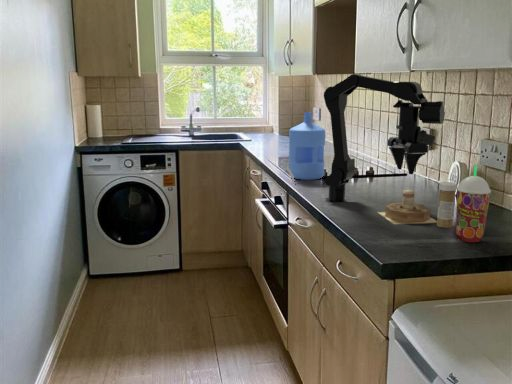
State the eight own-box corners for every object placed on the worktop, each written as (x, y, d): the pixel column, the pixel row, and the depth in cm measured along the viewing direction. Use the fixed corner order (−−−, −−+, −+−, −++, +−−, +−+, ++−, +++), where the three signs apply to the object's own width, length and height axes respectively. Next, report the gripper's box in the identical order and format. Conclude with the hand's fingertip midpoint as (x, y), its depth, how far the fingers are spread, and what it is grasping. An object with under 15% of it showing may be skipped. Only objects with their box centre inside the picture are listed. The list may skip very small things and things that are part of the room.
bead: (381, 212, 161) (381, 203, 160) (418, 211, 162) (418, 202, 161) (395, 223, 149) (396, 213, 148) (435, 221, 150) (435, 212, 149)
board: (376, 214, 162) (377, 211, 161) (419, 213, 163) (419, 210, 163) (393, 227, 148) (393, 224, 148) (439, 226, 149) (439, 222, 149)
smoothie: (452, 242, 135) (458, 167, 130) (452, 233, 142) (458, 162, 138) (486, 245, 132) (494, 169, 128) (485, 236, 139) (492, 164, 135)
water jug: (281, 175, 228) (282, 112, 222) (311, 172, 235) (313, 111, 229) (300, 181, 214) (301, 114, 208) (331, 178, 221) (333, 113, 215)
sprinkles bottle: (440, 225, 150) (443, 180, 147) (455, 228, 147) (459, 182, 144) (433, 229, 146) (436, 183, 144) (448, 232, 143) (452, 185, 141)
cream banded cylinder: (399, 215, 157) (401, 190, 155) (410, 215, 157) (411, 190, 155) (404, 218, 154) (405, 192, 152) (414, 218, 154) (416, 192, 152)
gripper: (446, 124, 152) (442, 176, 156) (420, 120, 170) (417, 166, 174) (410, 125, 151) (407, 177, 154) (388, 120, 169) (385, 167, 172)
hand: (405, 171), depth 164 cm, fingers open, 9 cm apart
